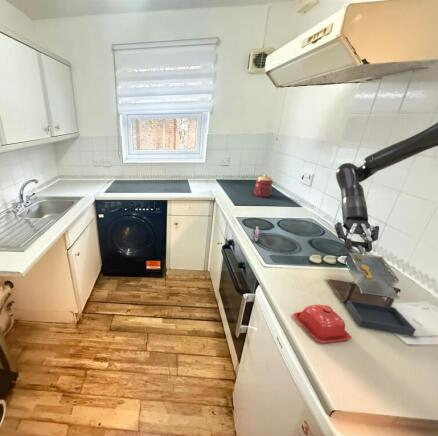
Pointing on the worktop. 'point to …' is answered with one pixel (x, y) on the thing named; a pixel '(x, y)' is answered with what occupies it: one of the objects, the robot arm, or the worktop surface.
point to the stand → (358, 293)
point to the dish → (378, 270)
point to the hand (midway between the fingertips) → (358, 250)
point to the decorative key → (256, 233)
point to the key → (366, 271)
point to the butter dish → (322, 323)
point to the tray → (379, 317)
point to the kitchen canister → (263, 186)
